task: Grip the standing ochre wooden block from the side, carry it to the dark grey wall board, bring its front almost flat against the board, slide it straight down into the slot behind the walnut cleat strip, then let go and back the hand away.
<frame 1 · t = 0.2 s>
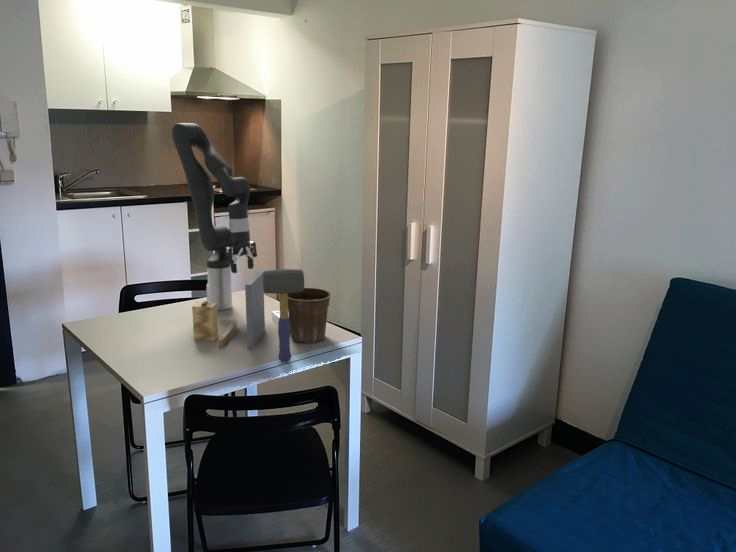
hand: (242, 270, 235), 17 cm above the table, tool pointing down, fingers open, 8 cm apart
bracket: (286, 324, 228), on the table
ochre block: (206, 337, 211), on the table
plant pot: (308, 338, 212), on the table
wall board: (242, 338, 210), on the table
rubber mallet: (284, 362, 190), on the table
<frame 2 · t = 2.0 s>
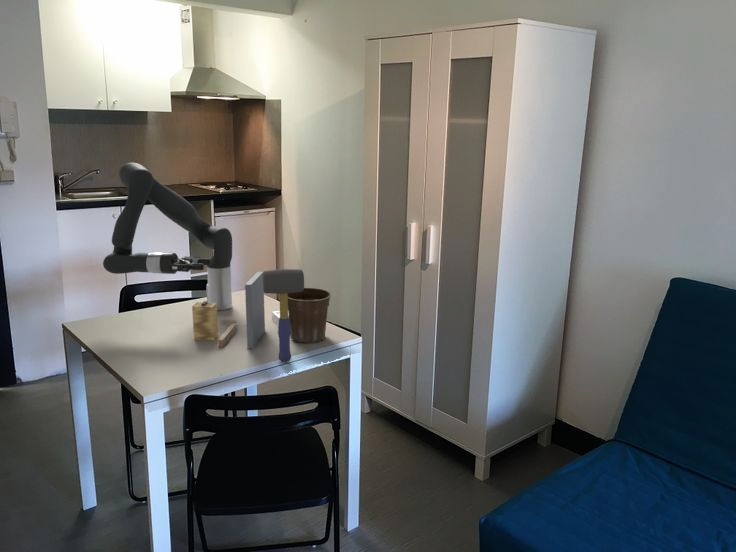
hand: (207, 264, 214), 24 cm above the table, tool horizontal, fingers open, 8 cm apart
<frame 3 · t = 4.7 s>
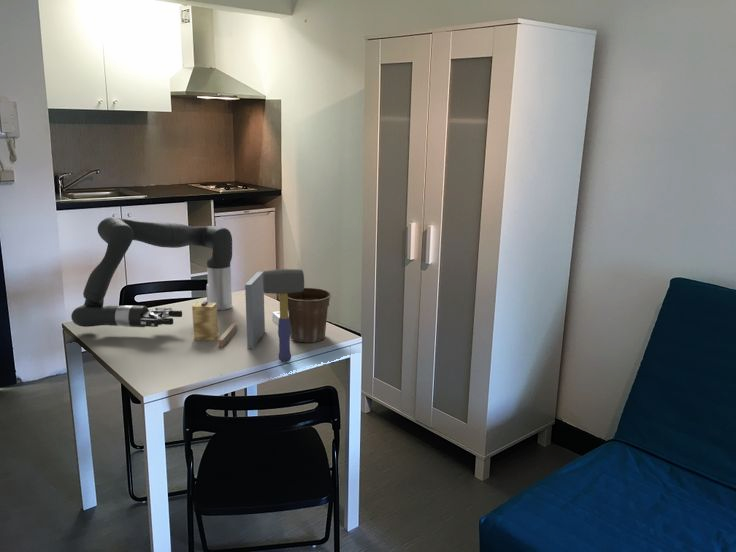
hand: (177, 317, 210), 7 cm above the table, tool horizontal, fingers open, 8 cm apart
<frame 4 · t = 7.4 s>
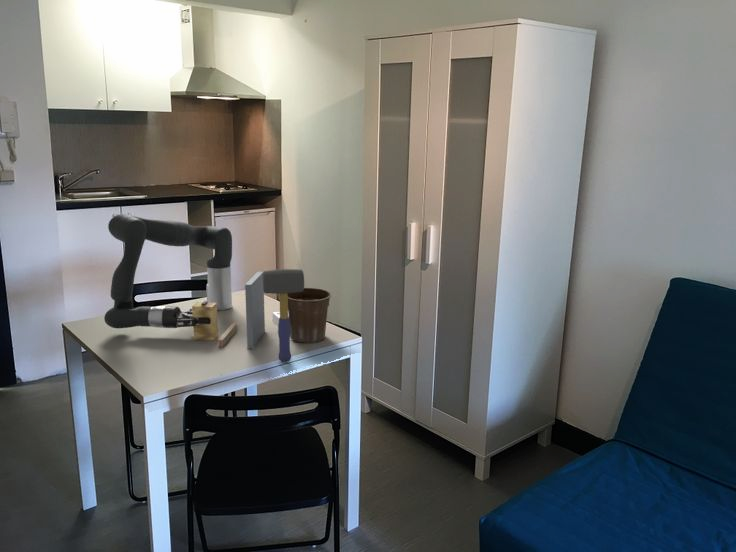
hand: (212, 318, 209), 7 cm above the table, tool horizontal, fingers closed on ochre block, 5 cm apart
ochre block: (206, 337, 211), on the table, touching gripper
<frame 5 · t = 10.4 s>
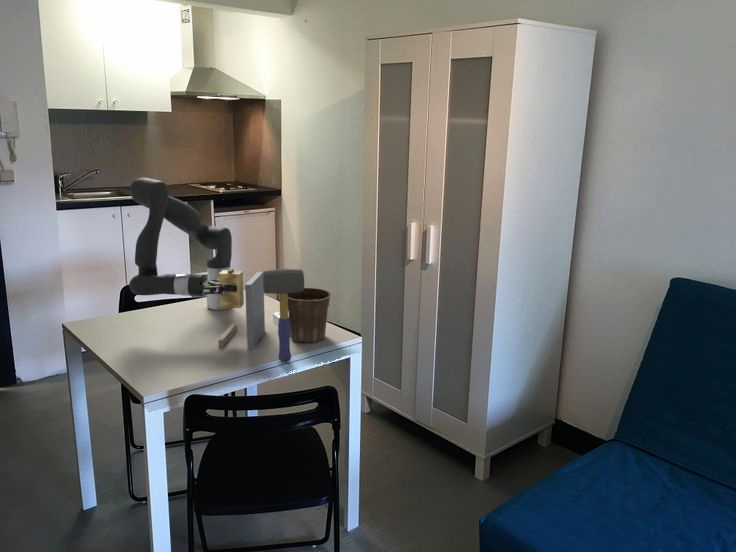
hand: (238, 286, 206), 19 cm above the table, tool horizontal, fingers closed on ochre block, 5 cm apart
ochre block: (232, 305, 208), point 12 cm above the table, touching gripper
when the fingers open (8 cm above the table, at t = 13.8 s): ochre block drops 1 cm, on the table.
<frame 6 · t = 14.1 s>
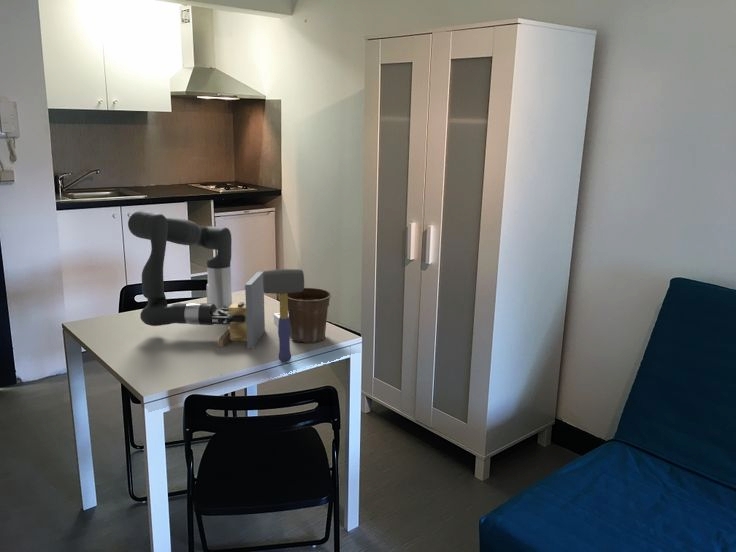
hand: (247, 315, 208), 8 cm above the table, tool horizontal, fingers open, 7 cm apart
ochre block: (242, 338, 210), on the table
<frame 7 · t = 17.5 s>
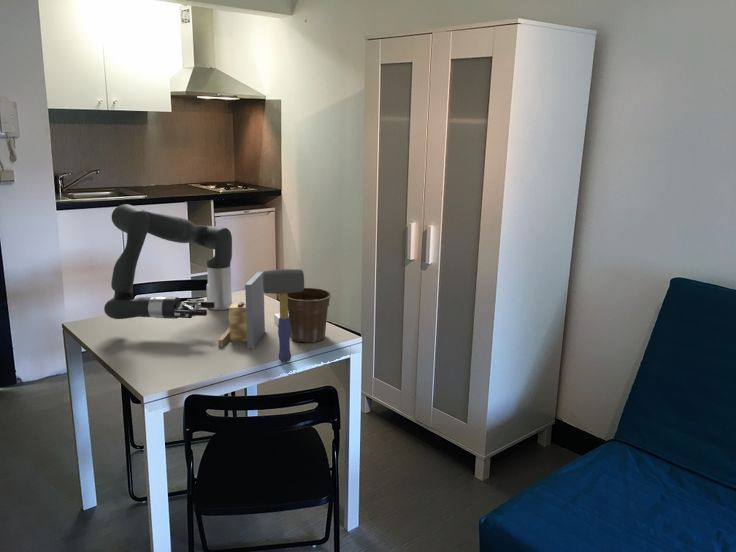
hand: (210, 308, 209), 10 cm above the table, tool horizontal, fingers open, 8 cm apart
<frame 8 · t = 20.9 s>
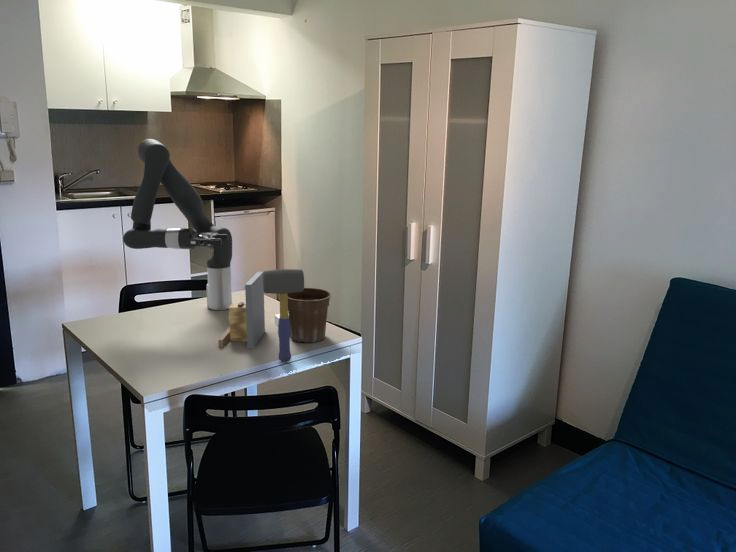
hand: (224, 239, 219), 32 cm above the table, tool horizontal, fingers open, 8 cm apart
at the end: ochre block 0.3 cm off-centre on the wall board, point 0.0 cm above the wall board's base; ochre block tilted 0°; the gripper is holding nothing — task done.
